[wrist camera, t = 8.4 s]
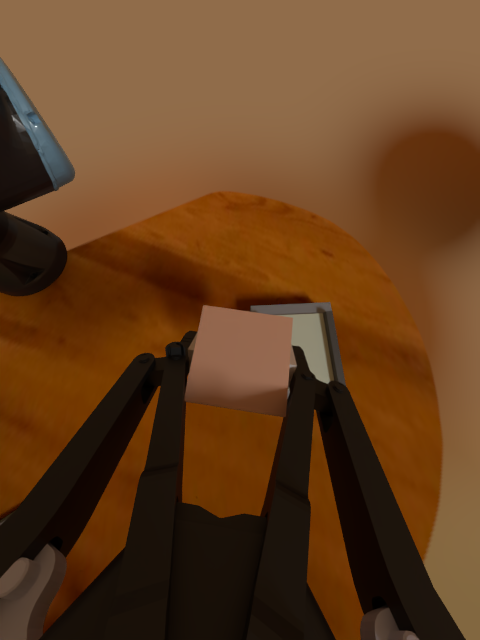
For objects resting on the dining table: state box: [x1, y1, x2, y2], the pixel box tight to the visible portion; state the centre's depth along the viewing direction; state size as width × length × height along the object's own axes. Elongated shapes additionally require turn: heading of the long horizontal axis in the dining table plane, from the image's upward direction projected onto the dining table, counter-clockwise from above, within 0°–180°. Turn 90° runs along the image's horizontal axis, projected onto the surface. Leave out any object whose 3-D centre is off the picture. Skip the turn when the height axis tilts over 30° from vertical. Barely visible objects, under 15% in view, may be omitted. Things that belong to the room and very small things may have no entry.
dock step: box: [250, 302, 346, 399], centre depth 31 cm, size 16×14×6 cm
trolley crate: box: [185, 305, 293, 417], centre depth 16 cm, size 6×6×10 cm
